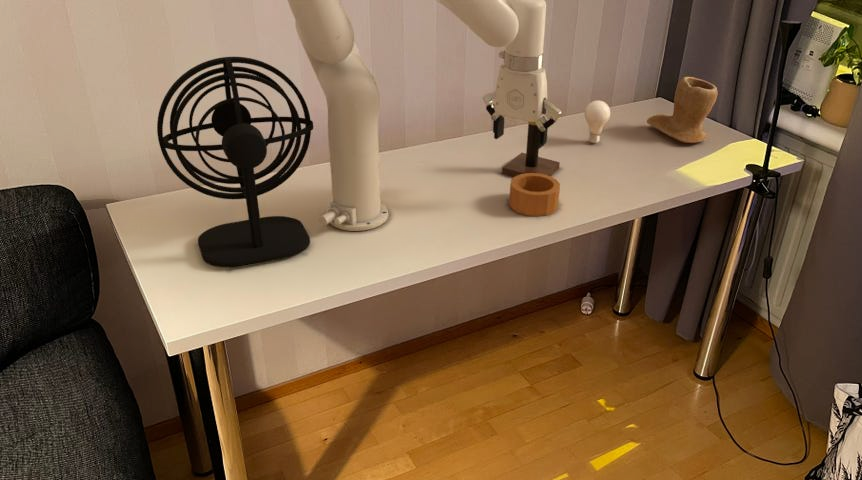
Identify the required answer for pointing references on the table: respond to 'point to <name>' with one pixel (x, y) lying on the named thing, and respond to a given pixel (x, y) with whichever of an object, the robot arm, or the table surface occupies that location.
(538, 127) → the robot arm
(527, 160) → the hook peg
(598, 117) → the lightbulb
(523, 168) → the hook base
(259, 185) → the desk fan
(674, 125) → the brown boot
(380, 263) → the table surface
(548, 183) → the tape roll
